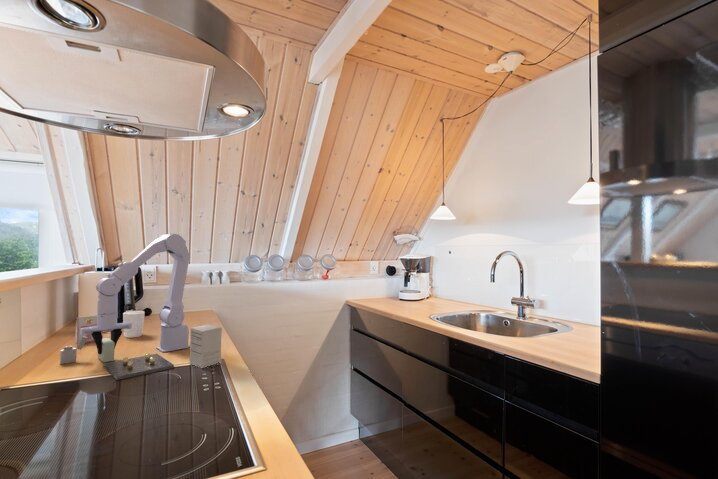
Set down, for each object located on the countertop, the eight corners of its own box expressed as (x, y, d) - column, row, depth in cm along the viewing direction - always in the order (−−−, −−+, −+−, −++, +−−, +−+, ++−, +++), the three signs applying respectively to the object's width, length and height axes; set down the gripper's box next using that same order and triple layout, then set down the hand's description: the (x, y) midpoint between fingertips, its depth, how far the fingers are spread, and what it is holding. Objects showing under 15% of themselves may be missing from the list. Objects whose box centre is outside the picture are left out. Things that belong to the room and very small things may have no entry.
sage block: (108, 354, 129) (108, 337, 130) (114, 360, 124) (114, 342, 124) (97, 356, 127) (98, 339, 127) (103, 362, 122) (104, 344, 122)
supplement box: (208, 359, 130) (209, 323, 130) (221, 364, 125) (222, 327, 125) (188, 364, 124) (190, 327, 124) (201, 369, 119) (202, 330, 119)
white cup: (127, 339, 152) (128, 315, 152) (118, 336, 156) (119, 312, 156) (147, 335, 158) (148, 312, 158) (138, 332, 163) (139, 310, 163)
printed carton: (75, 341, 146) (76, 316, 146) (95, 338, 151) (96, 314, 151) (76, 343, 143) (77, 318, 143) (97, 340, 148) (98, 316, 148)
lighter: (60, 364, 120) (61, 339, 120) (59, 362, 121) (60, 338, 121) (87, 359, 125) (88, 336, 125) (86, 358, 126) (87, 335, 126)
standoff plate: (156, 356, 131) (157, 348, 131) (173, 367, 120) (174, 358, 120) (103, 366, 119) (103, 357, 119) (116, 380, 108) (117, 369, 108)
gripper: (128, 308, 134) (126, 346, 134) (78, 313, 123) (77, 353, 123) (134, 311, 129) (132, 350, 129) (83, 317, 118) (81, 359, 118)
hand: (106, 352), depth 126 cm, fingers closed on sage block, 3 cm apart
